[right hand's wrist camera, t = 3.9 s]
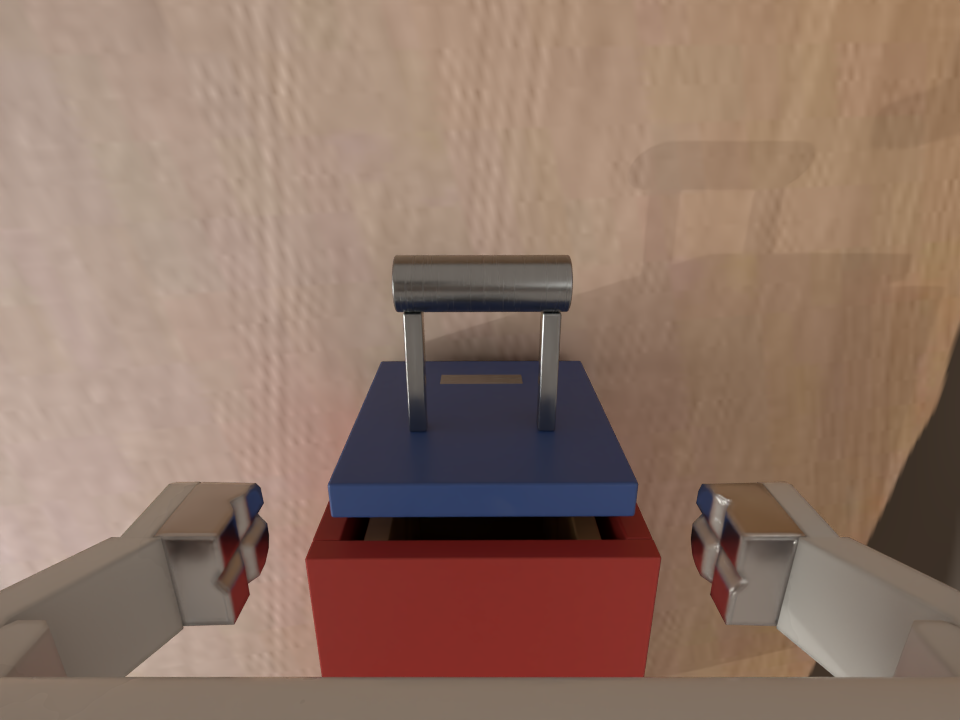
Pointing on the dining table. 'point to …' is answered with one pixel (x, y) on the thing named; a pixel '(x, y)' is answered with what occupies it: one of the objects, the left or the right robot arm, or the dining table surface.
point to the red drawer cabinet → (483, 603)
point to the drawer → (482, 420)
